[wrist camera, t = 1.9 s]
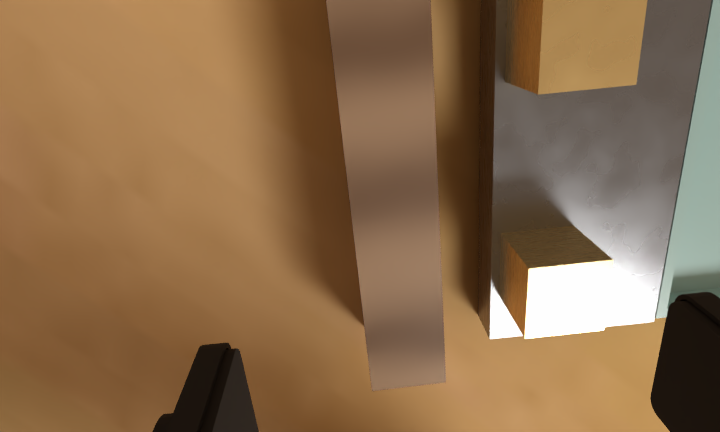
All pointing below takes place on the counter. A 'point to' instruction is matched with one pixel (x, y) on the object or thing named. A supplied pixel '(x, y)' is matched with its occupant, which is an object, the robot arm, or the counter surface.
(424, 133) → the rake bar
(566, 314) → the brass block
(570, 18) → the brass block
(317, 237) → the counter surface
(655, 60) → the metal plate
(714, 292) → the teal tray
